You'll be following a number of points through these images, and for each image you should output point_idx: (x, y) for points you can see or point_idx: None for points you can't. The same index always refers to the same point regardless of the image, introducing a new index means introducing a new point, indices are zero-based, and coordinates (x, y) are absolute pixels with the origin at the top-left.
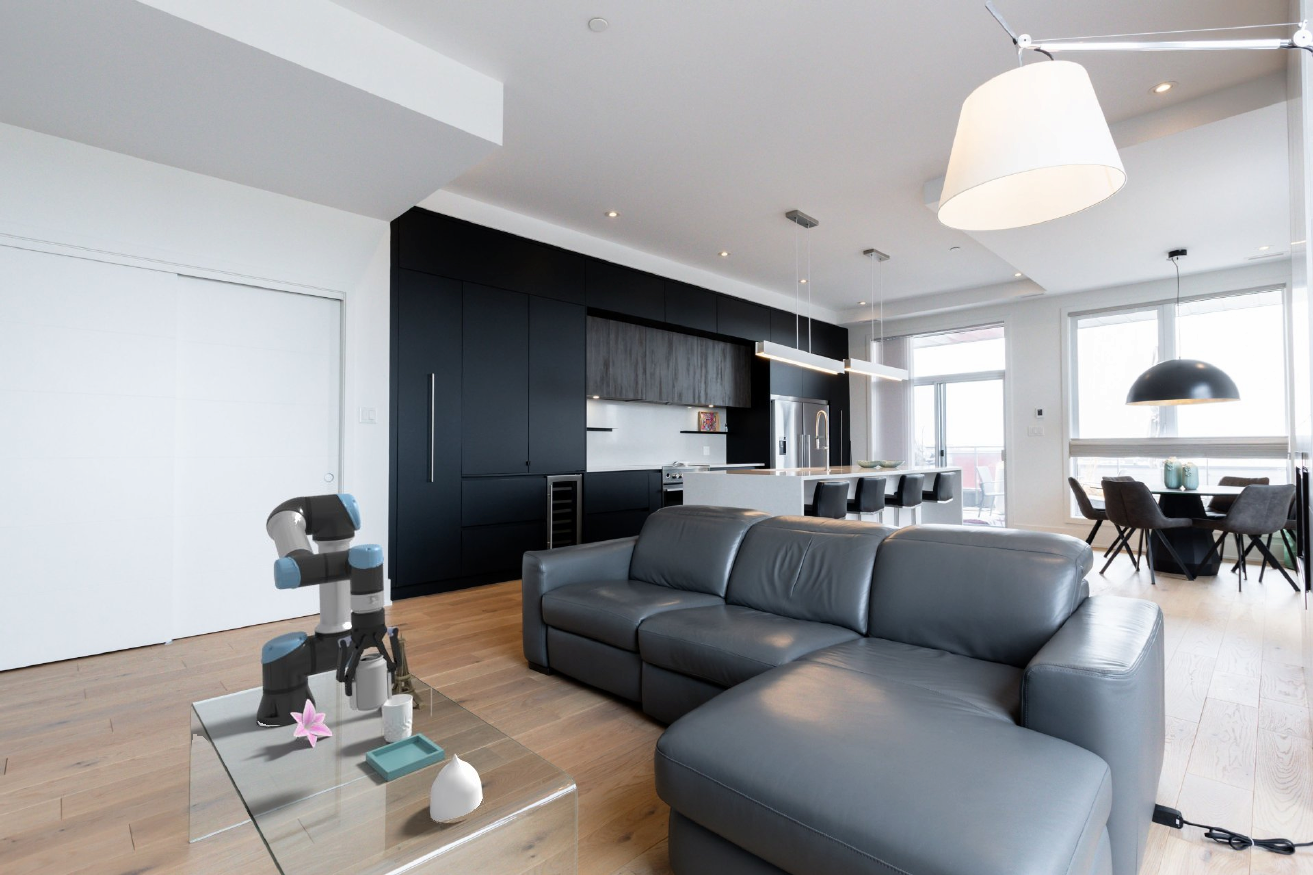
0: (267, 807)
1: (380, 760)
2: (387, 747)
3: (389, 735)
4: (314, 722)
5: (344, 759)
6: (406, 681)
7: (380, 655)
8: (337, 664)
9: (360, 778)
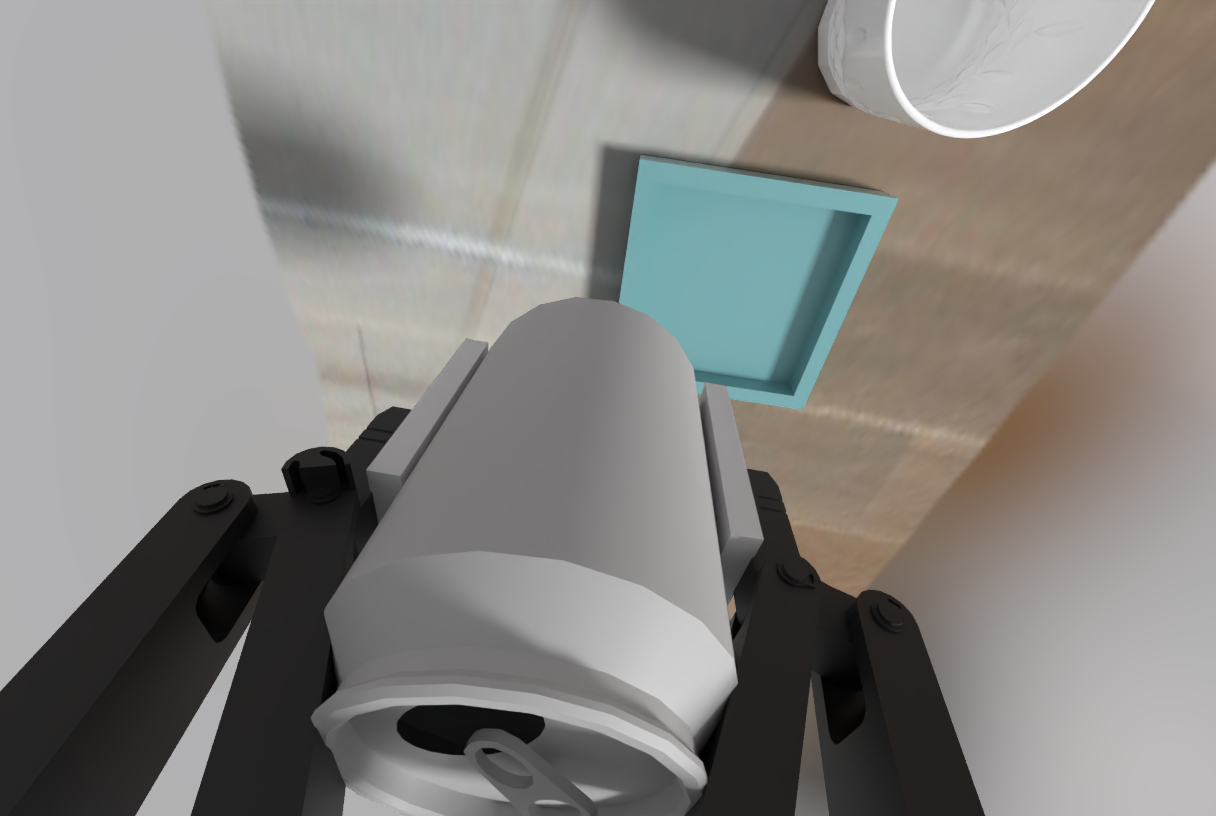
0: (273, 176)
1: (666, 230)
2: (727, 192)
3: (826, 59)
4: None
5: (593, 27)
6: None
7: (679, 784)
8: (28, 672)
9: (564, 271)
